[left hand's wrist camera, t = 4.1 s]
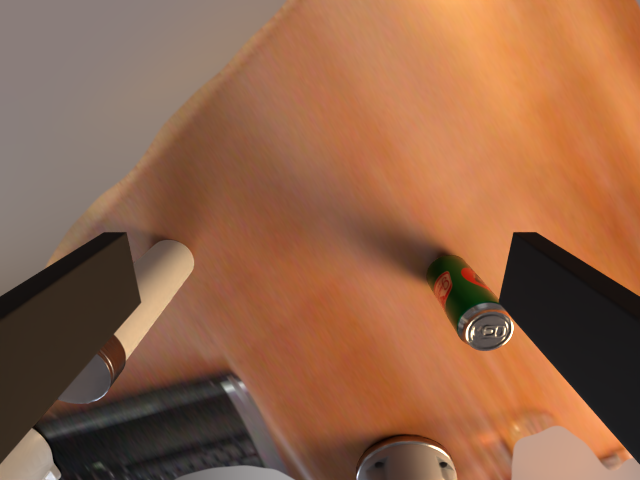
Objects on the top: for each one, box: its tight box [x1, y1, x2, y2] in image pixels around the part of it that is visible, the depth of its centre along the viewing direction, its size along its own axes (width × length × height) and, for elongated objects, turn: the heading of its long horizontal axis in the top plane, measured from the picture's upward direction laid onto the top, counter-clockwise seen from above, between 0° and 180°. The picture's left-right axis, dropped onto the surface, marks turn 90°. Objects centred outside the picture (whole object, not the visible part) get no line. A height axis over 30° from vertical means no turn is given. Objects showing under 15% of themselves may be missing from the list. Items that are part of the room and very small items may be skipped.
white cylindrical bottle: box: [114, 240, 194, 360], centre depth 34 cm, size 5×5×19 cm
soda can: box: [426, 255, 513, 351], centre depth 38 cm, size 5×5×12 cm
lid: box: [58, 335, 126, 404], centre depth 26 cm, size 6×6×2 cm
